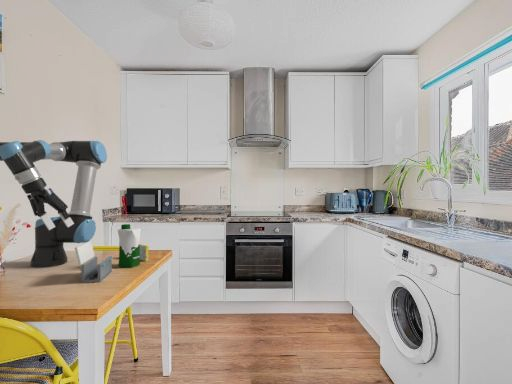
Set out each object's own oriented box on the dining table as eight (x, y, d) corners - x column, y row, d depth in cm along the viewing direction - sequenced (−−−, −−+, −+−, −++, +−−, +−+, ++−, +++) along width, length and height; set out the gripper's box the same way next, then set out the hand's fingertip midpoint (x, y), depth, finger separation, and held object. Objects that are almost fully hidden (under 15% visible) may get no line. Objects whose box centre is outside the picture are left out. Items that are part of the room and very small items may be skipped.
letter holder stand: (94, 272, 135) (95, 256, 135) (112, 271, 137) (112, 256, 137) (81, 282, 119) (81, 265, 119) (101, 281, 121) (101, 264, 121)
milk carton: (126, 263, 153) (127, 223, 153) (143, 264, 151) (143, 224, 151) (115, 267, 144) (115, 225, 144) (132, 268, 142) (132, 226, 142)
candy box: (148, 261, 158) (149, 245, 158) (145, 261, 156) (145, 245, 156) (129, 257, 167) (129, 242, 167) (126, 258, 165) (126, 242, 165)
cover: (94, 256, 135) (91, 256, 135) (91, 240, 135) (87, 241, 135) (81, 264, 119) (77, 265, 119) (76, 247, 119) (73, 248, 119)
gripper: (5, 190, 120) (36, 234, 127) (38, 179, 108) (70, 229, 115) (24, 181, 126) (52, 224, 133) (57, 171, 114) (87, 219, 121)
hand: (61, 227), depth 124 cm, fingers open, 13 cm apart
